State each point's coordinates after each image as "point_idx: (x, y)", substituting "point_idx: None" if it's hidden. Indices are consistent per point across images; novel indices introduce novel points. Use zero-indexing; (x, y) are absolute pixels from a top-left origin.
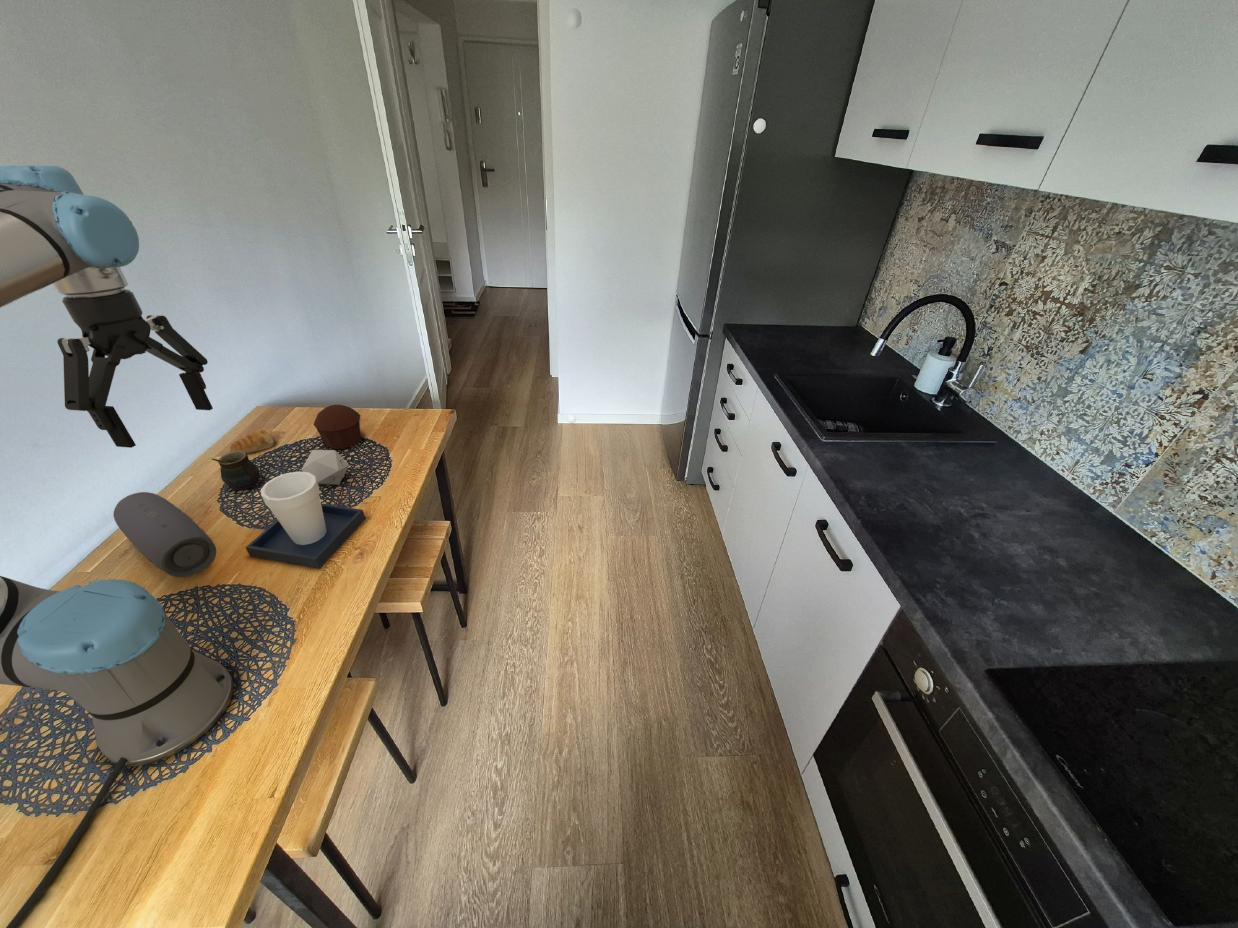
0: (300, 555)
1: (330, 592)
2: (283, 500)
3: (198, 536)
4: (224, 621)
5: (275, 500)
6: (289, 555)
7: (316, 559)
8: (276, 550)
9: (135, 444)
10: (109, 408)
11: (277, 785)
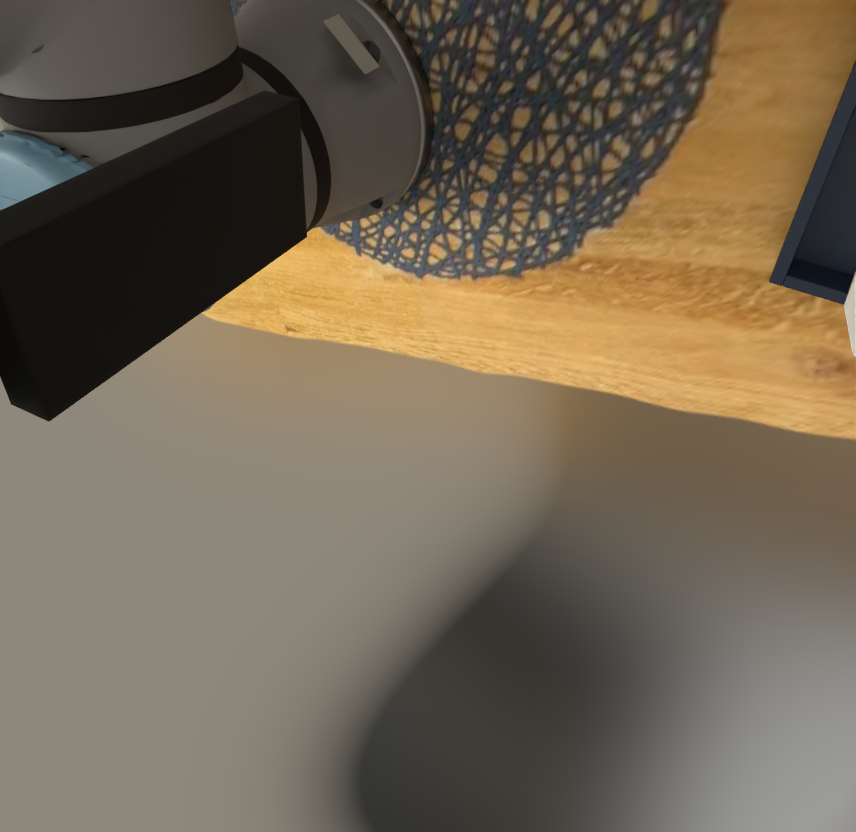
0: (798, 225)
1: (669, 315)
2: (849, 323)
3: None
4: (560, 58)
5: (849, 294)
6: (808, 181)
7: (771, 281)
8: (845, 120)
9: (302, 239)
10: (24, 406)
11: (298, 331)
